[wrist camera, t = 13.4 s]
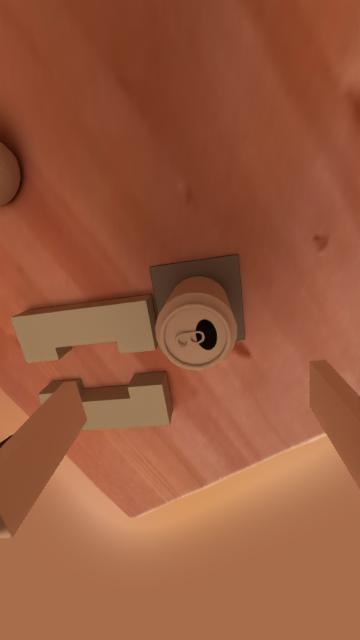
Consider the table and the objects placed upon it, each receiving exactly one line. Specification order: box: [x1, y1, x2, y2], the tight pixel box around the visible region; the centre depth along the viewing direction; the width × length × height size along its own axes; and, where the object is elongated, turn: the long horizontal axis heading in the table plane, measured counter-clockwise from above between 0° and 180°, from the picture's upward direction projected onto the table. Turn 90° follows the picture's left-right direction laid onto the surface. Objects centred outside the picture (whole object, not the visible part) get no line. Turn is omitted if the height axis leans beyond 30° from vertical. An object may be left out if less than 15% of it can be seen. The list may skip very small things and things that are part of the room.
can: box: [155, 276, 237, 370], centre depth 28 cm, size 8×8×12 cm
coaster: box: [149, 254, 245, 340], centre depth 34 cm, size 11×11×1 cm
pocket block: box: [11, 294, 173, 430], centre depth 36 cm, size 18×18×4 cm
